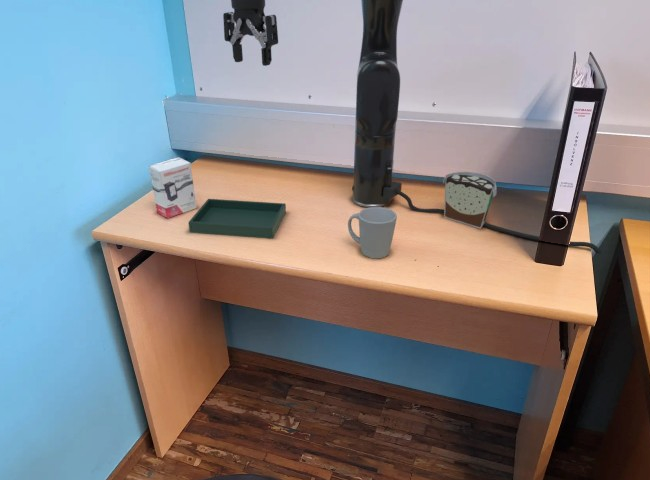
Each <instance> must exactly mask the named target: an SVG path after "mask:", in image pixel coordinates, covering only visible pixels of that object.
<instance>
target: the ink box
mask: <svg viewBox="0 0 650 480" xmlns="http://www.w3.org/2000/svg"><path fill="white" fill-rule="evenodd" d="M148 171H149V176H150V181H151V187H152V192H153V198H154V202H155V208H156V212H157V214H158V215H160V216H162V217H164V218H165V219H170V218H173V217H175V216H178V215H181V214H185V213H186V212H190V211H193V210H195V209H197V208H198V207H197V200H196V194H195V186H194V185H195V184H194V178H193V172H192V163H191V162H190V161H189V160H185V159H184V158H182V157H174V158H171V159H167V160H164V161H161V162H157V163H154V164H151V165H150V166H148Z"/></svg>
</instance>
